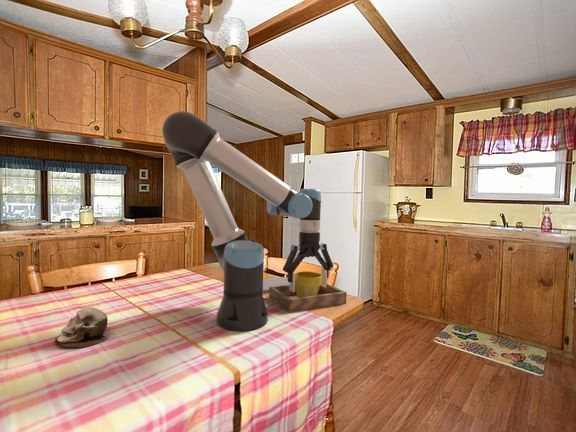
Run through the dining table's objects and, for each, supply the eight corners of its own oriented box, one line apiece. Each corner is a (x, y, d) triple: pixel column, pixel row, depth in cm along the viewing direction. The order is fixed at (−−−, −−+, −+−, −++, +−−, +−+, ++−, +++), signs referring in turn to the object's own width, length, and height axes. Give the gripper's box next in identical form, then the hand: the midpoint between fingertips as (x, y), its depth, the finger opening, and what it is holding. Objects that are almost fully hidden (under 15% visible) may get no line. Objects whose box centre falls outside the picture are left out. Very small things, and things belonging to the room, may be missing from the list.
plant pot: (320, 296, 119) (321, 271, 119) (321, 306, 109) (322, 278, 108) (293, 295, 120) (294, 270, 120) (291, 304, 110) (292, 276, 109)
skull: (56, 352, 70) (53, 310, 75) (56, 366, 76) (53, 327, 81) (116, 336, 77) (110, 299, 82) (111, 351, 84) (106, 315, 89)
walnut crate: (289, 312, 102) (289, 300, 102) (268, 297, 116) (269, 286, 116) (346, 303, 113) (346, 292, 112) (321, 290, 127) (321, 280, 127)
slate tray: (262, 293, 121) (262, 290, 121) (249, 283, 134) (249, 280, 134) (302, 288, 129) (302, 285, 129) (286, 279, 142) (286, 276, 142)
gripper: (283, 233, 104) (282, 296, 105) (343, 231, 115) (341, 287, 117) (274, 231, 111) (273, 290, 112) (331, 229, 122) (330, 282, 123)
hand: (308, 288), depth 114 cm, fingers open, 13 cm apart
